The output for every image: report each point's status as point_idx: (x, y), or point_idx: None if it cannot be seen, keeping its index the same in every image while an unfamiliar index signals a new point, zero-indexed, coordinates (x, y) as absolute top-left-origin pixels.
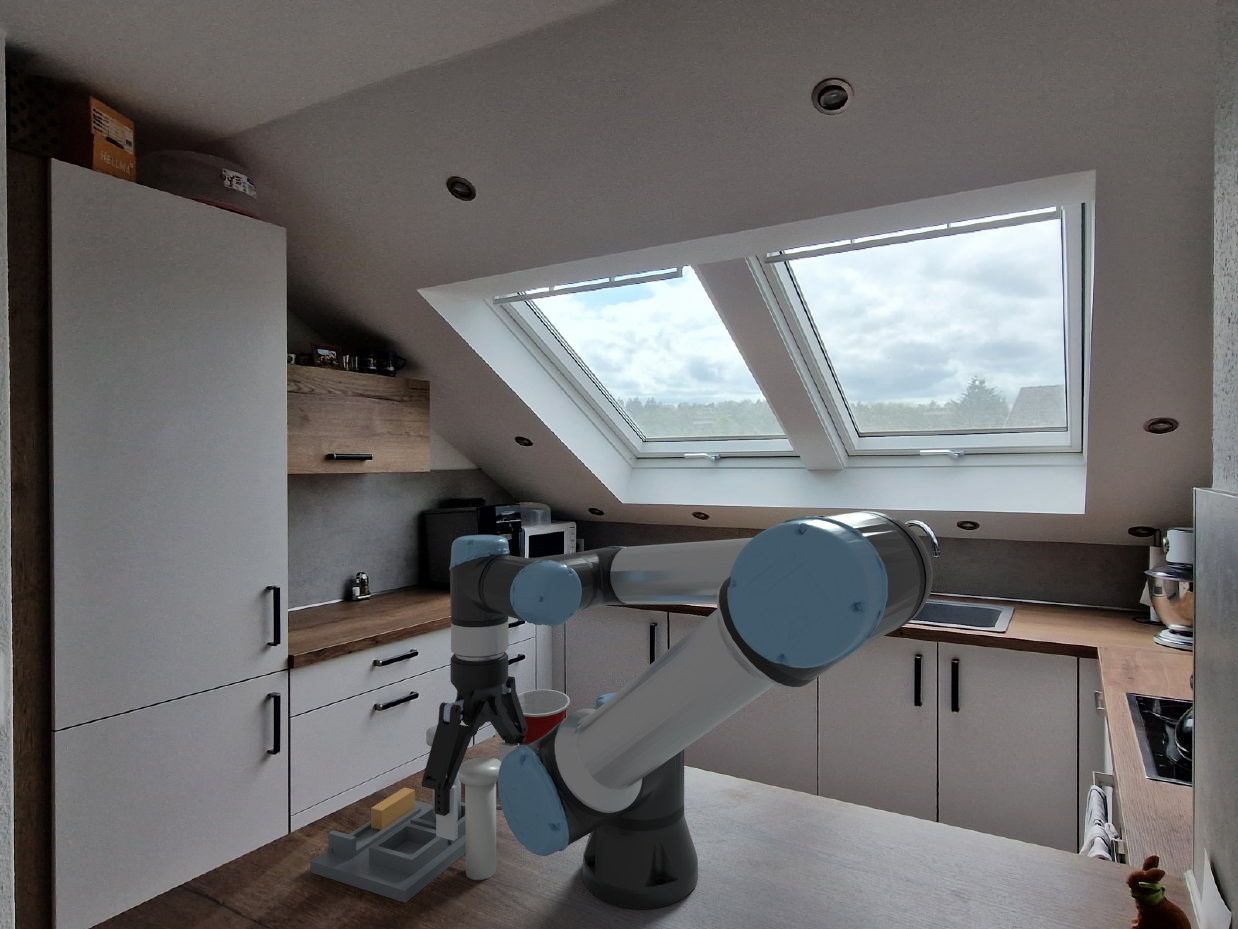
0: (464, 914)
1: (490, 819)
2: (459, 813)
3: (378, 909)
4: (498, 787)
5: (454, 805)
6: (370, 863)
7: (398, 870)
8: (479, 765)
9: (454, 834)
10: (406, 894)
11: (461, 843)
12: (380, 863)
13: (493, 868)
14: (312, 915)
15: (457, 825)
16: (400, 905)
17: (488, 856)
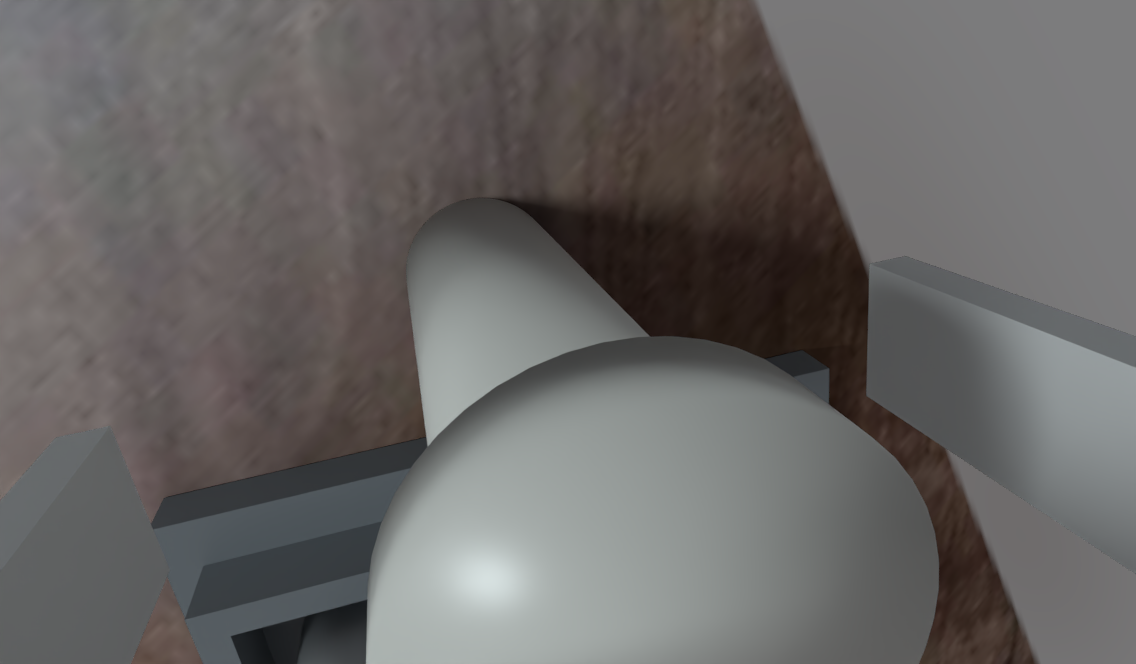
0: (757, 93)
1: (553, 276)
2: (342, 640)
3: (863, 395)
4: (164, 580)
5: (1127, 334)
6: None
7: None
8: None
9: (929, 266)
10: (812, 363)
11: None
12: None
13: (474, 205)
14: (956, 521)
15: (934, 285)
16: (816, 354)
17: (522, 222)
